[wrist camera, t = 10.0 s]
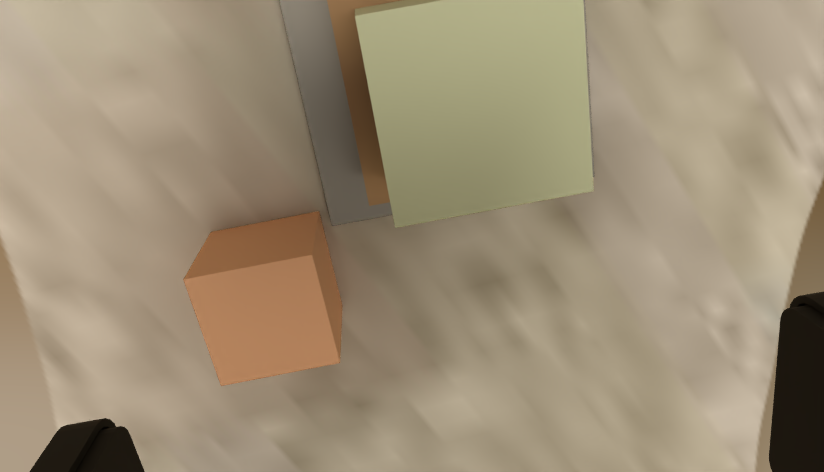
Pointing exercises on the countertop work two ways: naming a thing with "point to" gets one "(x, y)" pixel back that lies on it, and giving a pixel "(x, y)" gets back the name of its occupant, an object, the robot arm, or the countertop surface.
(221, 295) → the terracotta brick
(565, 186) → the sage brick
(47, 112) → the countertop surface
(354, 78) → the walnut brick
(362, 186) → the build plate
